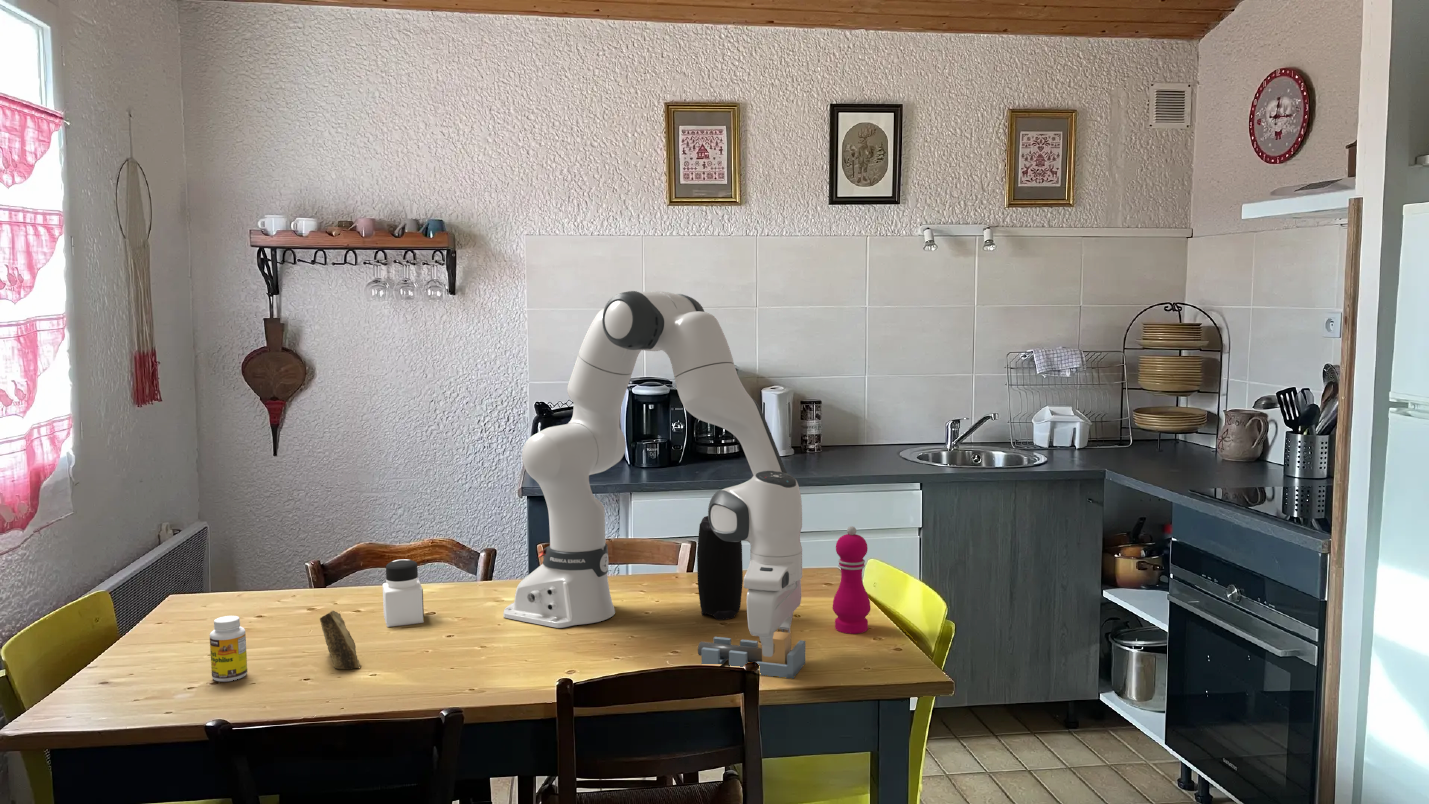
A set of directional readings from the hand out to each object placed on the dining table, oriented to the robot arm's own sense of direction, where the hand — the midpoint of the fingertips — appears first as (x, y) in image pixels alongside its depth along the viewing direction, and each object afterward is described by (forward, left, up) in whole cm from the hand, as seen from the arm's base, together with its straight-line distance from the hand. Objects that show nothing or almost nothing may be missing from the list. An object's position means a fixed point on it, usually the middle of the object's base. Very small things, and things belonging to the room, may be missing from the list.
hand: (776, 646), depth 181 cm
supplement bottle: (-87, -33, -4) cm, 94 cm away
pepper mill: (+8, +25, -4) cm, 26 cm away
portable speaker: (-19, +26, -4) cm, 33 cm away
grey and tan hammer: (-6, 0, -3) cm, 7 cm away
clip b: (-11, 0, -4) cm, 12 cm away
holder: (+1, 0, -4) cm, 4 cm away
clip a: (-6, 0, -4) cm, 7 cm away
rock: (-74, -20, -4) cm, 77 cm away
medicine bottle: (-78, +3, -4) cm, 79 cm away
